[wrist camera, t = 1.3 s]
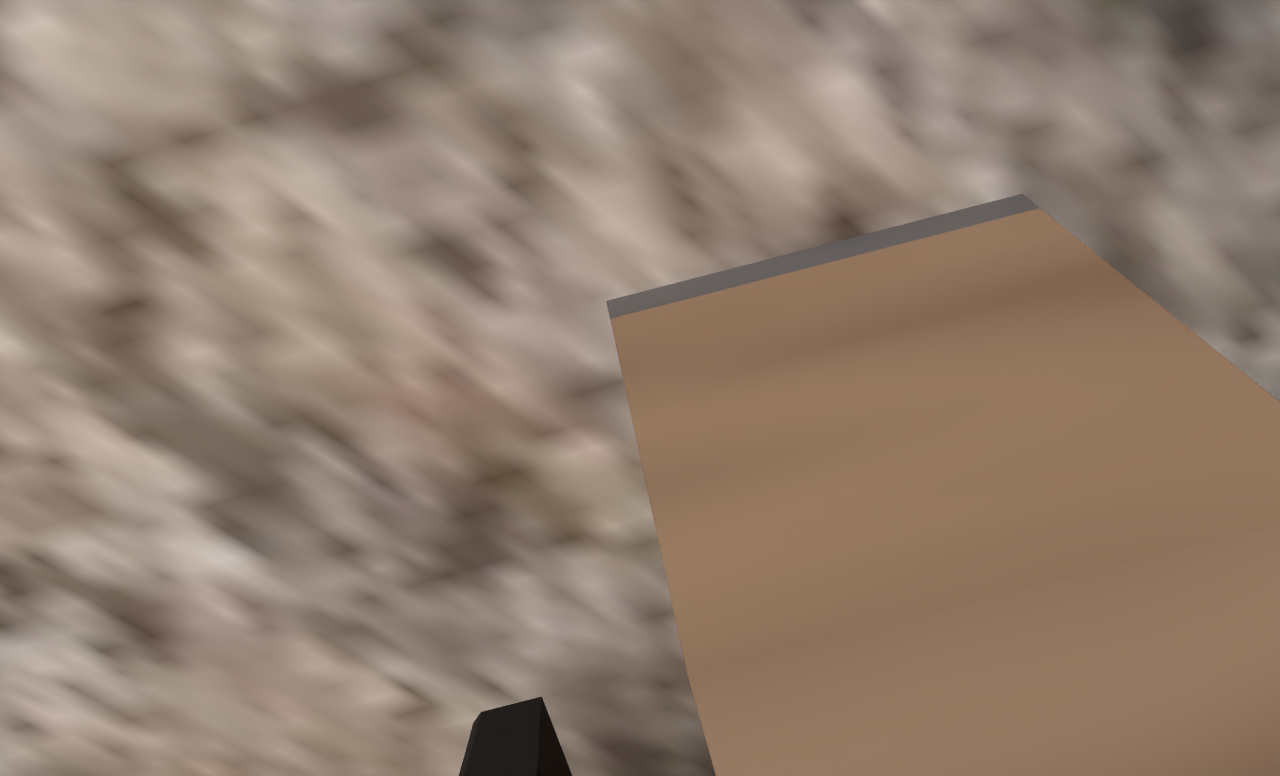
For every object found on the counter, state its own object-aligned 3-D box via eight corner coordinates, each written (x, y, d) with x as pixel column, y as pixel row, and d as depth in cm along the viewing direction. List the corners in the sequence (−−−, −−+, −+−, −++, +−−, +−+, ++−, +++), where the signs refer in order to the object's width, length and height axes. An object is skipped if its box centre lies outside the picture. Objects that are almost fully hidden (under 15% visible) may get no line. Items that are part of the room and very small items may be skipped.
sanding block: (1044, 753, 14) (1281, 1180, 10) (748, 829, 14) (859, 1285, 10) (1017, 189, 10) (1396, 495, 6) (606, 295, 10) (687, 676, 6)
